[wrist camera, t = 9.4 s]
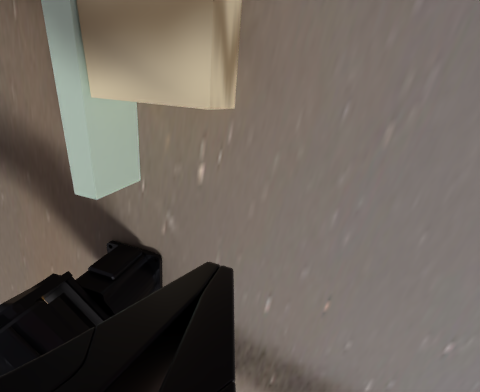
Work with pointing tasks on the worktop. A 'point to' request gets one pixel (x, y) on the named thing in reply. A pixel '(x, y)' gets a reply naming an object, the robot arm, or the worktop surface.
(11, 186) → the worktop surface
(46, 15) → the sage board
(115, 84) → the maple block
